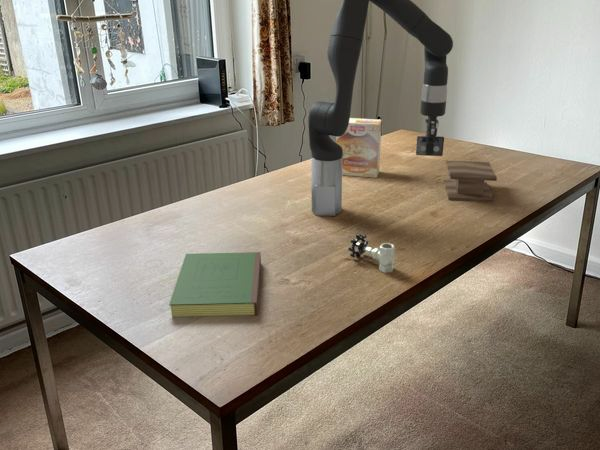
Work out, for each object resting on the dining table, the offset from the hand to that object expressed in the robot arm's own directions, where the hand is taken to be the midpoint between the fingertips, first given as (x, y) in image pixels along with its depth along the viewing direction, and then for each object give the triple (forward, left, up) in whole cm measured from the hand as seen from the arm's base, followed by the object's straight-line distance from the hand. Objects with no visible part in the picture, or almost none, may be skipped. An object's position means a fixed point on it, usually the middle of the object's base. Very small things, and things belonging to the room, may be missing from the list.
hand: (429, 153), depth 190 cm
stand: (+4, -14, -14) cm, 20 cm away
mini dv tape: (0, 0, -1) cm, 1 cm away
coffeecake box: (+19, +23, -14) cm, 33 cm away
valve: (-51, +16, -14) cm, 55 cm away
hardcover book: (-67, +52, -15) cm, 86 cm away
